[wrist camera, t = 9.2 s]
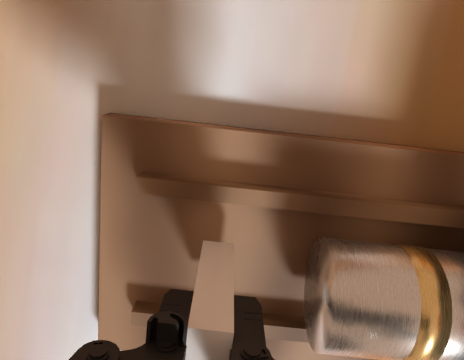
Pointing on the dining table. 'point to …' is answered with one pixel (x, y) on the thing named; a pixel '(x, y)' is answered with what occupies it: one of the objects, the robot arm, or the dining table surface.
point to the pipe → (384, 301)
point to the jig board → (254, 214)
